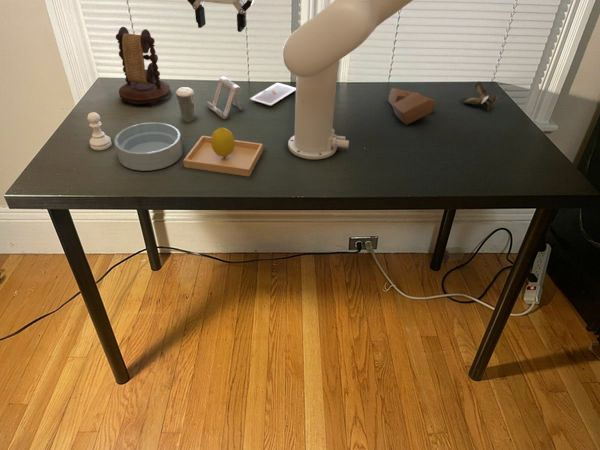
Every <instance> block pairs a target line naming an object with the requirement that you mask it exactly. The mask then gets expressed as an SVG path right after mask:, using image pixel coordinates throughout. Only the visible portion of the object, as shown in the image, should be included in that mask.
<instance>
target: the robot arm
mask: <svg viewBox="0 0 600 450" xmlns="http://www.w3.org/2000/svg"><path fill="white" fill-rule="evenodd" d="M186 1H187V2H188V3H189V4H190V5H191V7H192V9H193V10H194V17H195V23H197V28H198V29H202V28H203V27H204V26H205V25H206V13H205V7H204V6H203V4H204V3H211V4H222V5H224V4H225V5H233V7H234V8H235V9H236V11H237V13H236V27H237V28H236V29H237V32H238V33H242V32H243V30H245V28H246V27H247V16H246V15H247V14H246V13H247V11H248V10H249V8H250V7H251V6H252V5H253V4H254V1H255V0H246V2H244V1H243V0H186ZM413 1H414V0H333V1H332V2H331V3H329V5H327V6H326V7H325V8H323V9H322V10H321V11H319V12H318V13H317V14H316V15H314V16H313V17H312V18H309V20H307V21H306V22H304V23H303V24H302V25H300V26H299V27H298V28H297V29H296V30H294V31H293V32H292V33H291V34H289V35H288V37H287V38H286V39H285V41H284V44H283V48H282V60H283V64H284V66H285V68H286V69H287V70H288V71H289V72H290V73H291V74H293V75H295V76H296V79H295V88H296V90H295V100H294V101H295V106H294V135H292V136H291V137H290V139H288V142H287V147H288V150H289V152H291V153H292V154H293V155H295V156H296V157H299V158H301V159H305V160H323V159H327V158H330V157H332V156H333V155H334V154H335V153H336V151H337V149H338V148H342V149H349V145H350V140H346V136H344V135H337V134H335V130H336V129H335V128H333V125H334V115H335V104H336V92H337V84H338V73H339V68H340V62H341V59H343V58H344V57H346V56H348V55H349V54H351V53H352V52H354V51H355V50H356V49H358V48H359V47H360V46H361V45H362V44H363V43H364V42H365V41H366V40H367V39H368V38H370V36H371V34H373V32H374V31H375V30H376V29H377V28H378V26H380V25H381V24H382V23H384V22H385V21H387V20H388V19H389V18H391V17H392V16H394V15H396V13H398V12H399V11H400V10H402V9H403V8H404V7H406V6H407V5H408V4H410V3H411V2H413Z"/></svg>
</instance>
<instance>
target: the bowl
mask: <svg viewBox="0 0 600 450" xmlns="http://www.w3.org/2000/svg"><path fill="white" fill-rule="evenodd" d="M113 142H114V146H115V149H116V153H117V157H118V162H119V163H120V164H121V165H122V166H124V168H128V169H130V170H135V171H141V172H143V171H145V172H146V171H147V172H148V171H156V170H160V169H165V168H167V167H170V166H172V165H174V164H175V163H177V162H179V160H180V159H181V157H182V156H183V152H184V148H183V142H182V136H181V132H180V130H179V129H178V128H176V127H175V126H174V125H171V124H168V123H164V122H157V121H155V122H153V121H152V122H142V123H136V124H133V125H130V126H128V127H125V128H124V129H122V130H120V131H119V132H118V133H117V134H115V137H114V139H113Z"/></svg>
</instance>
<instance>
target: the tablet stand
mask: <svg viewBox="0 0 600 450" xmlns="http://www.w3.org/2000/svg"><path fill="white" fill-rule="evenodd" d="M223 87H224V89H225V91H226V93H227V95H228V97H227V101H226V104H225V107H224V110H223V111H222V110H221V109H220V108H219V107H217V106H218V103H219V98H220V95H221V92H222V89H223ZM241 93H242V88H241V87H240V86H239V85H238V84H236V83H235V82H234V81H231V80H230V79H229V78H227V77H225V76H220V78H219V80H218V83H217V87H216V91H215V94H214V97H213V100H212V102H210V101H209V100H207V101H206V106H207V108H208V109H210V110H211V112H214V113H215V114H216V115H217V116H219V117H220V118H221V119H222V120H226V119H228V116H229V113H230V110H231V106H232V105H233V106H234V107H237V108H238V110H240V111H243V108H242V106H241V104H240V102H239V100H238V99H237V97H236V95H240V94H241Z"/></svg>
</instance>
